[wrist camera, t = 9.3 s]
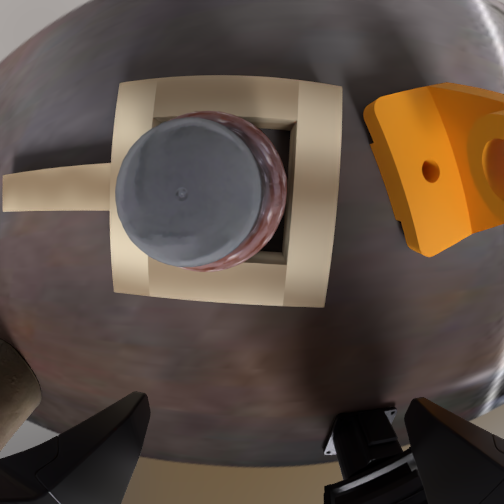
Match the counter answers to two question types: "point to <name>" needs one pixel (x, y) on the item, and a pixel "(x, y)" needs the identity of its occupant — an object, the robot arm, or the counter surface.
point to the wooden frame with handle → (297, 200)
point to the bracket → (440, 161)
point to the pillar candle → (15, 392)
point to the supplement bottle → (201, 191)
